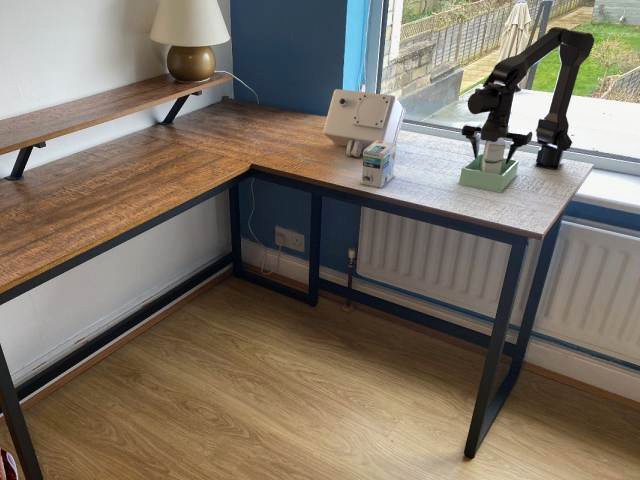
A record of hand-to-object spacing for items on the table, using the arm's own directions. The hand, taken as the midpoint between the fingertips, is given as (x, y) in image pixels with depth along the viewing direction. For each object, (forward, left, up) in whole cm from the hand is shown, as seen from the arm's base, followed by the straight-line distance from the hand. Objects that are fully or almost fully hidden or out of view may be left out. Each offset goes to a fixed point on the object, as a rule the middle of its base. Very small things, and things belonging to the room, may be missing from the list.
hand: (491, 161), depth 179 cm
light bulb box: (+28, +18, -6) cm, 34 cm away
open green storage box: (0, 0, -6) cm, 6 cm away
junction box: (+45, -4, -6) cm, 46 cm away
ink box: (0, 0, -6) cm, 6 cm away
